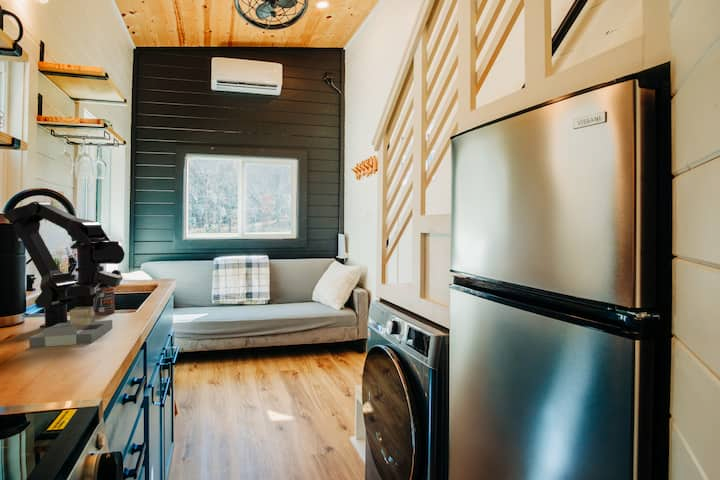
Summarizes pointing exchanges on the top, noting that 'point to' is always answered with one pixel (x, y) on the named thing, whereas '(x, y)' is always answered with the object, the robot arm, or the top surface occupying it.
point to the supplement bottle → (105, 301)
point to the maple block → (81, 316)
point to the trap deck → (70, 334)
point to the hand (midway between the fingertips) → (91, 315)
